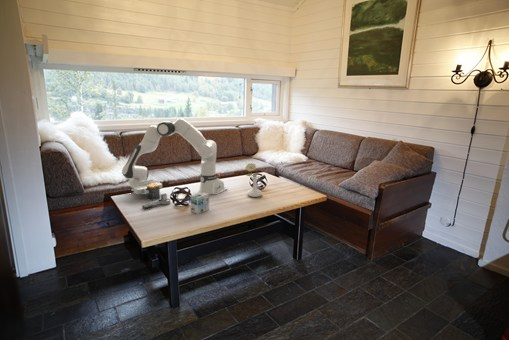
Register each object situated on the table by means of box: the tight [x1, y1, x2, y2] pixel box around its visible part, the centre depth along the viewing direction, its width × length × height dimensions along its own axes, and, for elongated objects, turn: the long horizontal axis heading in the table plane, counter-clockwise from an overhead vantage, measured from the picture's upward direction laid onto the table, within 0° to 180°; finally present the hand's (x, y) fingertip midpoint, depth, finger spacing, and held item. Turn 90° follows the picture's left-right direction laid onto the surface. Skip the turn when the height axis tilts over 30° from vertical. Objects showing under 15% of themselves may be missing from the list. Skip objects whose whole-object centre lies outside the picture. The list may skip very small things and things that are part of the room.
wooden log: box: [146, 183, 161, 202], centre depth 214 cm, size 6×6×10 cm
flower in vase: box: [245, 162, 263, 198], centre depth 224 cm, size 13×11×25 cm
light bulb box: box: [190, 192, 210, 215], centre depth 196 cm, size 11×7×11 cm, turn 146°
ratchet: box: [142, 192, 171, 211], centre depth 202 cm, size 19×8×7 cm, turn 139°
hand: (154, 190), depth 213 cm, fingers closed on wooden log, 6 cm apart
